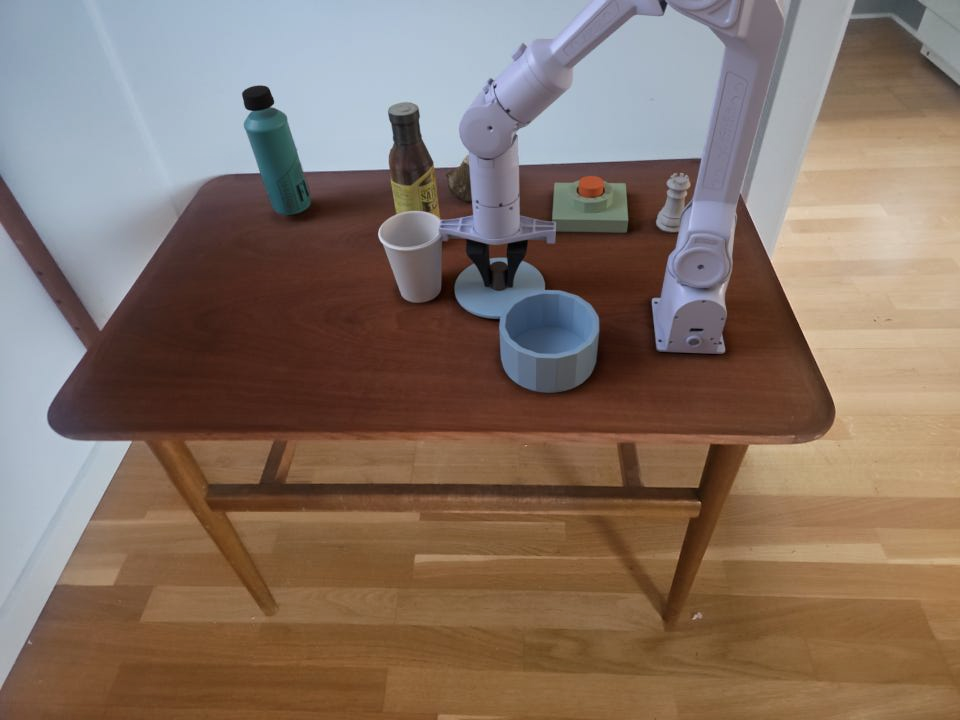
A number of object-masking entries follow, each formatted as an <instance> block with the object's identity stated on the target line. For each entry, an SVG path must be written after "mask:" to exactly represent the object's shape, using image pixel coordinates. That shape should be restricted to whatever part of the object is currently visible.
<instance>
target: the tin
mask: <svg viewBox="0 0 960 720" xmlns="http://www.w3.org/2000/svg"><path fill="white" fill-rule="evenodd" d="M498 326H499V327H498V328H499V329H498V330H499V348H500V361H501V364H502V368H503V370H504V372H505V373H506V375H507V376H508V377H509V378H510V379H511V380H512V381H513V382H514V383H515V384H517V385H519V386H521V387H522V388H524V389H527V390H530V391H532V392H537V393H545V394H547V393H549V394H554V393H561V392H566V391H569V390H572V389H575V388H577V387H578V386H580V385H581V384H583V383H584V382H585V381H587V379H588V378H589V377H590V376H591V375H592V373H593V371H594V369H595V366H596V364H597V356H598V348H599V347H598V346H599V339H600V338H599V337H600V317H599V315H598V313H597V312H596V310H595V308H594V307H593V306H592V304H591V303H589V302H588V301H587V300H585V299H583V298H582V297H580V296H579V295H577V294H574V293H570V292H567V291H564V290H560V289H558V290H557V289H552V290H551V289H545V290H539V291H535V292H531V293H527V294H524V295H522V296H520V297H518V298H517V299H515V300H513V301H512V302H510V303H509V304H508V306H507V307H506V308H505V310H504V311H503V312H502V314H501V318H500V319H499V325H498Z"/></svg>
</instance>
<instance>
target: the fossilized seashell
mask: <svg viewBox="0 0 960 720" xmlns="http://www.w3.org/2000/svg"><path fill="white" fill-rule="evenodd" d="M445 177H446V179H447V185H448V186H447V187H448V189H449V192H450V193H451V195H452V196H454V197H455V198H456V199H458V200H460V201H461V202H472V195H471V182H470V168H469V154H468V155H465V157H464V158H463V159H462V161H461V163H460V165H459V166H458V167H456V168H454V169H452V170H450V171H447V172H446V173H445Z"/></svg>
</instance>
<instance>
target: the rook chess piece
mask: <svg viewBox="0 0 960 720" xmlns="http://www.w3.org/2000/svg"><path fill="white" fill-rule="evenodd" d="M666 185H667V187H668V190H666V195H667V196H666V199H665V200H666V201H665V202H664V203H665V204H664V206H663V207H662V208H661V210H660V211H659V212H658V214H657V218H656V220H655V223H656V226H657V227H658V229H659V230H660V231H663V232H664V233H668V234H677V233H679V228H680V216H681V213H682V211H683V209H684V208H685V201H686V197H687V195H688V192H687V190H689V188H690V187H691V186H692V184H691V181H690V178H689V175H688V174H685V173H683V172H680V173H679V175H678V172H675V173H673V174H672V175H670V178H669V179H667V180H666Z"/></svg>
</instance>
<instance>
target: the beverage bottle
mask: <svg viewBox="0 0 960 720" xmlns="http://www.w3.org/2000/svg"><path fill="white" fill-rule="evenodd" d="M241 97H242V99H243V106H244V109H245V110H247V111H250V112H249V114H248V115H247V117H246V118H245V120H244V122H243V128H244V130H245V133H246V136H247V139H248V141H249V144H250V148H251V149H252V153H253V155H254V158H255V161H256V162H255V163H256V166H257V169H258V171H259V175H260V177H261V181H262V185H263V186H264V189H265V192H266V196H267V198H268V201H269V205H270V206H271V208H272V209H273V210H274V211H275V213H277V214H279V215H283V216H292V215H293V216H294V215H297V214H300V213H302V212H304V211H306V210H307V209H308V208H309V207H310V205H311V204H312V195H311V191H310V187H309V184H308V180H307V179H306V178H307V177H306V175H305V174H304V169H303V165H302V162H301V159H300V157H299V153H298V147H297V145H296V143H295V139H294V136H293V135H292V131H291V127H290V123H289V121H288V120H289V119H288V116H287V115H286V113H285V112H283V111H282V110H279V109H278V108H275V107H273V106H274V104H275V99H274V96H273V94H272V91H271V89H270V88H269V86H266V85H262V84H261V85H260V84H259V85H252V86H250V87H247V88H246V89H244V90H243V91H242V93H241Z"/></svg>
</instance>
